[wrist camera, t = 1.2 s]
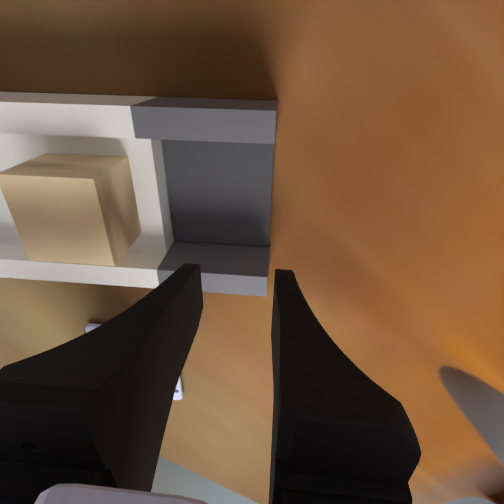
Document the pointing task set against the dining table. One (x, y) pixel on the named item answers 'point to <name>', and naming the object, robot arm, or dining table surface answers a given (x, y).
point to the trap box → (134, 180)
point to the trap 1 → (220, 191)
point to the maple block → (73, 207)
